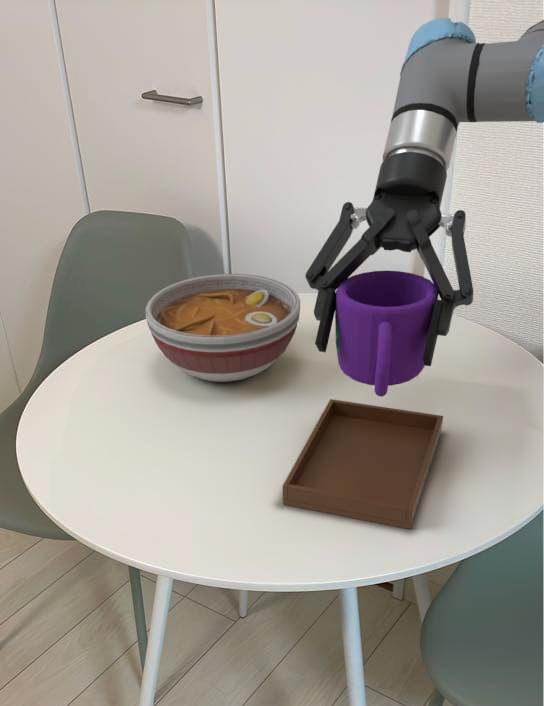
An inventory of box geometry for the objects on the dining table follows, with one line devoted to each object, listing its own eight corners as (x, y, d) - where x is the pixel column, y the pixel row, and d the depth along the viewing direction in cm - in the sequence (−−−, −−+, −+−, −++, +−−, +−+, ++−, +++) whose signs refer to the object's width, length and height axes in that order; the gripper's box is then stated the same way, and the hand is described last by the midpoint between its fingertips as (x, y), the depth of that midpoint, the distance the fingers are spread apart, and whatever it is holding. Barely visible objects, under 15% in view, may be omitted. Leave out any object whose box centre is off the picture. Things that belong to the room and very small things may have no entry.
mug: (336, 346, 96) (338, 268, 89) (427, 348, 94) (437, 269, 88) (326, 418, 83) (329, 333, 76) (432, 422, 81) (443, 335, 75)
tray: (440, 434, 100) (443, 415, 98) (410, 529, 85) (412, 510, 83) (329, 416, 104) (330, 398, 102) (282, 504, 90) (282, 485, 88)
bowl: (318, 341, 121) (320, 281, 115) (271, 412, 106) (269, 346, 99) (189, 324, 128) (184, 266, 122) (127, 389, 113) (116, 326, 106)
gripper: (521, 192, 85) (480, 379, 84) (319, 179, 92) (279, 352, 91) (527, 153, 78) (482, 357, 77) (306, 143, 85) (264, 330, 84)
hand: (372, 355), depth 84 cm, fingers closed on mug, 11 cm apart
